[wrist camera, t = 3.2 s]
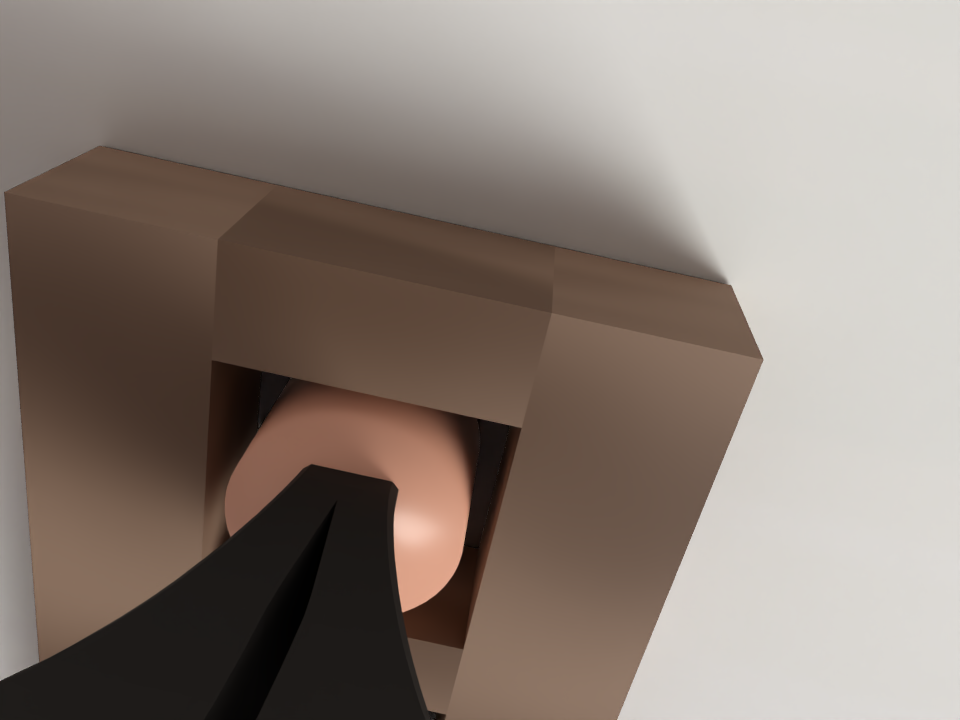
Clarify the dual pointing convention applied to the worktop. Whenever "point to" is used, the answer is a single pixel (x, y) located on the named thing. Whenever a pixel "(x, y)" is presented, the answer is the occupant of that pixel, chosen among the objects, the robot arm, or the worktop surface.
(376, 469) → the terracotta button
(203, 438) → the button panel
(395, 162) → the worktop surface
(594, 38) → the worktop surface
